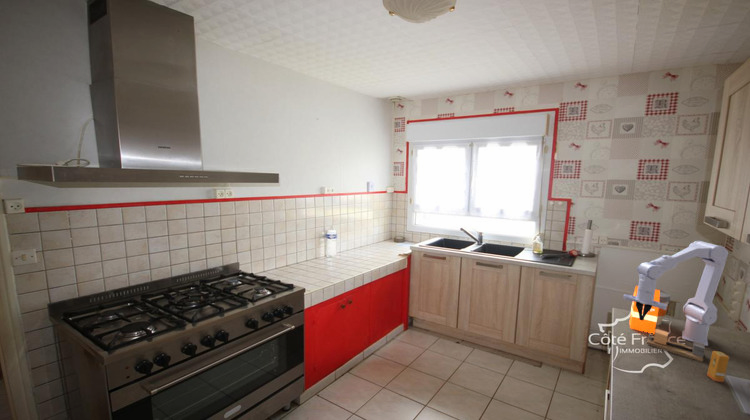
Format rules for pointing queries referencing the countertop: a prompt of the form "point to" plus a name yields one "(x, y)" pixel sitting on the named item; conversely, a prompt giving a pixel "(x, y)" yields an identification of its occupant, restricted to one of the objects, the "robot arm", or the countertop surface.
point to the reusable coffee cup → (665, 300)
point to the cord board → (680, 348)
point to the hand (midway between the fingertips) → (641, 319)
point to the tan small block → (660, 336)
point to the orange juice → (649, 319)
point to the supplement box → (718, 366)
